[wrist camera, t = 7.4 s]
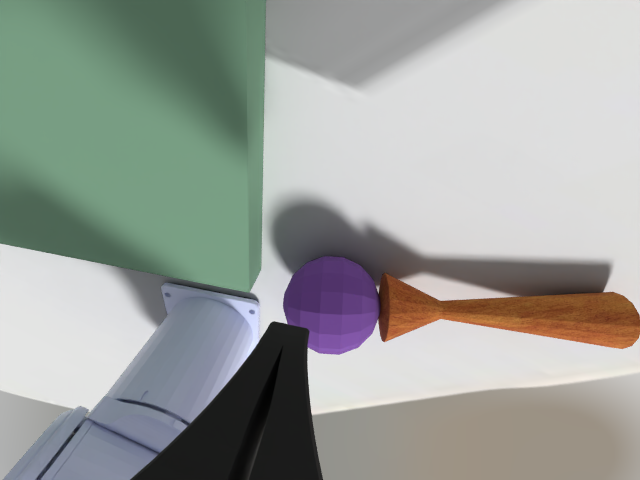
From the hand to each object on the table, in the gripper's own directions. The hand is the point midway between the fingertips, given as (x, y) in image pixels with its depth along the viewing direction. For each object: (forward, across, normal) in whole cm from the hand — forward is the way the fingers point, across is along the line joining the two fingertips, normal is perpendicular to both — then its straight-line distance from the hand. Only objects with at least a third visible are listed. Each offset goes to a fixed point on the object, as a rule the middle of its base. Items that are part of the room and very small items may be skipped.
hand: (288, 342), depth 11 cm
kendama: (+10, -8, +4) cm, 14 cm away
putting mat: (+9, +16, -3) cm, 19 cm away
